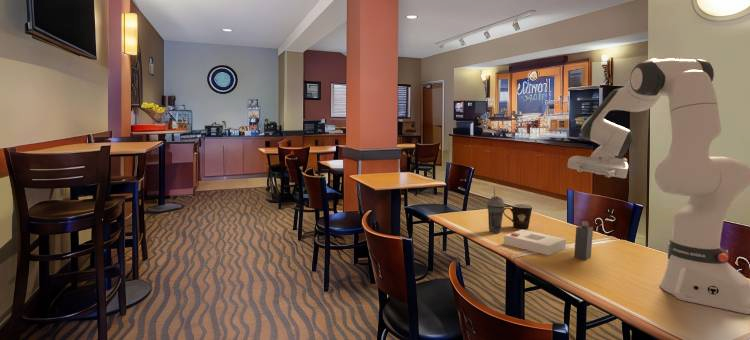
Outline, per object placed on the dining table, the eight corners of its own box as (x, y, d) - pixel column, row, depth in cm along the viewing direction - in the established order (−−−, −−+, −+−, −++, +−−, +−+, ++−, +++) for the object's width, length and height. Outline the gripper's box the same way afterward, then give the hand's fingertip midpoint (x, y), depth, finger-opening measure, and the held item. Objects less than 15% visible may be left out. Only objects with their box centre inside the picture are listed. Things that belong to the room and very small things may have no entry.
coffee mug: (534, 227, 194) (535, 206, 193) (525, 231, 188) (527, 208, 187) (509, 223, 202) (511, 202, 201) (501, 226, 196) (502, 204, 195)
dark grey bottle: (590, 257, 154) (593, 221, 152) (585, 260, 151) (588, 223, 149) (579, 254, 157) (581, 219, 155) (574, 257, 153) (576, 221, 152)
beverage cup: (504, 235, 182) (506, 188, 179) (486, 233, 183) (488, 187, 181) (502, 230, 189) (505, 185, 186) (485, 229, 190) (487, 184, 188)
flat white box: (565, 247, 165) (566, 236, 164) (548, 255, 155) (549, 243, 155) (521, 237, 178) (522, 227, 177) (503, 244, 168) (504, 233, 168)
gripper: (573, 149, 171) (564, 158, 161) (631, 159, 160) (626, 169, 150) (570, 164, 174) (561, 174, 163) (628, 175, 162) (622, 186, 152)
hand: (593, 172), depth 156 cm, fingers open, 8 cm apart
